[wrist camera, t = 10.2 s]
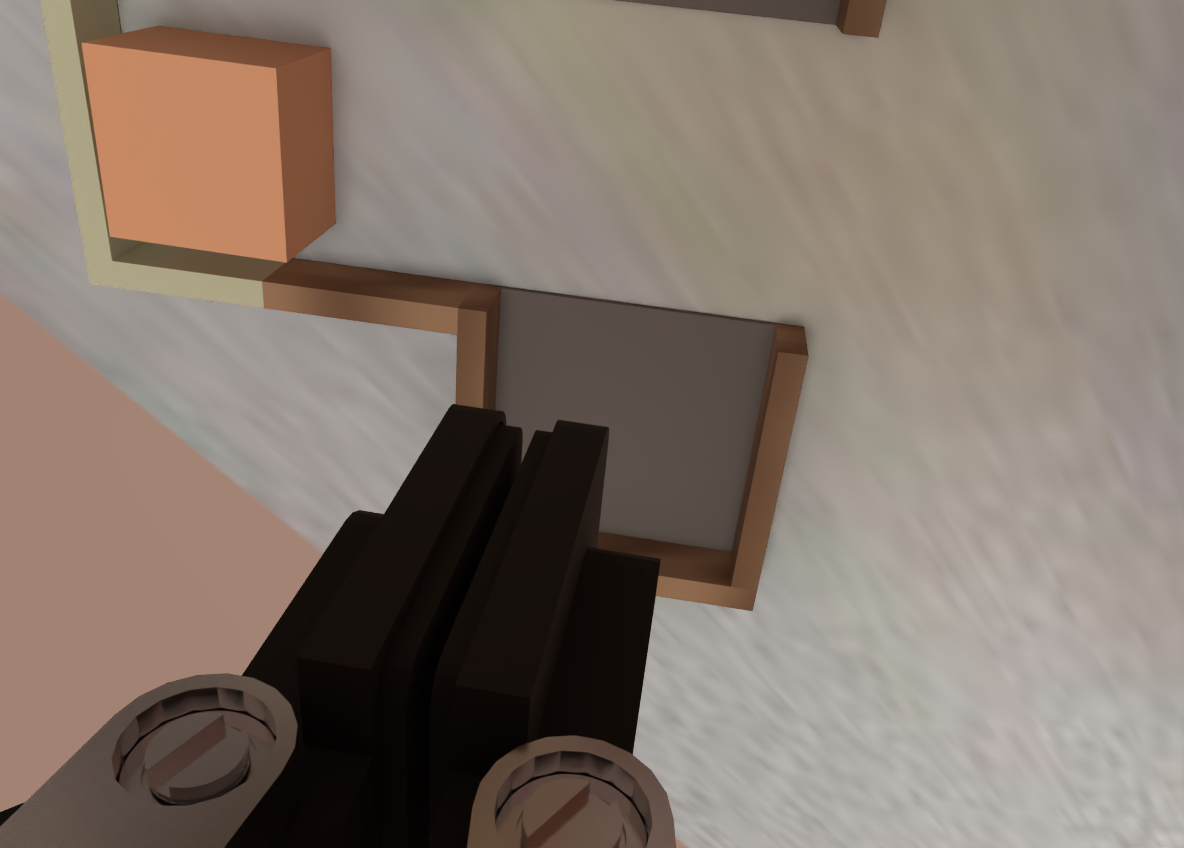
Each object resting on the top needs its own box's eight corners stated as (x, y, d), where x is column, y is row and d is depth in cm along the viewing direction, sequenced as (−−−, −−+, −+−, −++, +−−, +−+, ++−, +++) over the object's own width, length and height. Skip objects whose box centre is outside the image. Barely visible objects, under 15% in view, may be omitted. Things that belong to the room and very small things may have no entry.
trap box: (967, -441, 24) (990, -475, 22) (751, 572, 40) (752, 611, 38) (10, -513, 26) (-56, -551, 24) (161, 481, 42) (129, 513, 39)
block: (332, 47, 32) (275, 68, 28) (337, 221, 35) (286, 262, 31) (160, 25, 33) (81, 42, 29) (179, 199, 35) (110, 236, 32)
